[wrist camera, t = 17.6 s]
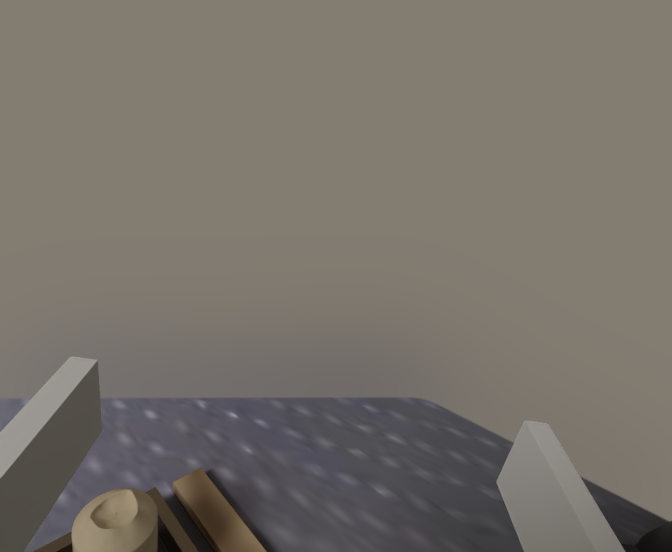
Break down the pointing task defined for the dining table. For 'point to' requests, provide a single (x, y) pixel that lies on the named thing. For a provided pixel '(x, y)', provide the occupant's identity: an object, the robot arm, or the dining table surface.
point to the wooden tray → (167, 529)
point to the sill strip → (214, 515)
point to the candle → (117, 523)
